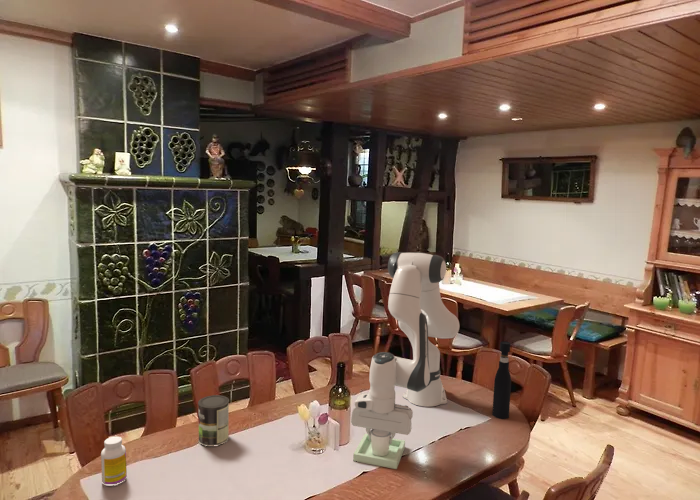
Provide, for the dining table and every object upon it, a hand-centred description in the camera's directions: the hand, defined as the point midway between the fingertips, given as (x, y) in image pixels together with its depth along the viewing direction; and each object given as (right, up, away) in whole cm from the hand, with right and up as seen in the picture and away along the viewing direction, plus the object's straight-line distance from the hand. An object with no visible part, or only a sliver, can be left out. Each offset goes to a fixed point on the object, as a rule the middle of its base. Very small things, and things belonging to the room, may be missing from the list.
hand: (380, 441), depth 164 cm
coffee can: (-58, -2, +7) cm, 58 cm away
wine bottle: (+50, -2, +32) cm, 59 cm away
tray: (0, -4, 0) cm, 4 cm away
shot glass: (0, -4, 0) cm, 4 cm away
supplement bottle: (-80, -5, -19) cm, 82 cm away
